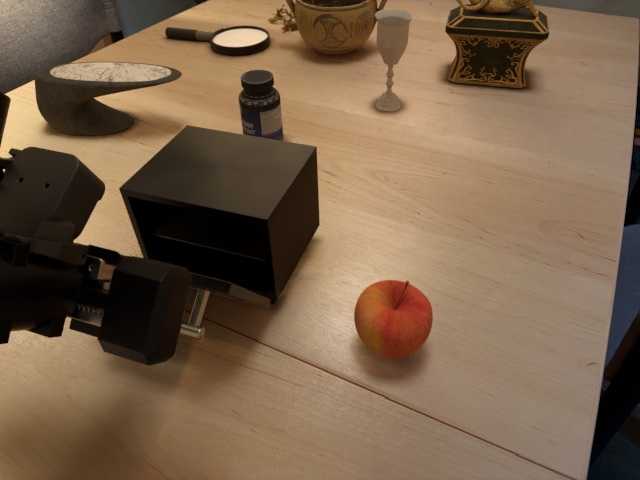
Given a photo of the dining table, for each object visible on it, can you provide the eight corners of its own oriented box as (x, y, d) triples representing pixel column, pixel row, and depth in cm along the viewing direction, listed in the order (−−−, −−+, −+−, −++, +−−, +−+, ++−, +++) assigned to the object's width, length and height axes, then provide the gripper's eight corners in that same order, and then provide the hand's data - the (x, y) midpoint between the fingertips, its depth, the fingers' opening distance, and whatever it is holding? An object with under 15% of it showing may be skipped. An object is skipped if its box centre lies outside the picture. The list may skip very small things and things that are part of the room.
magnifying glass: (182, 27, 121) (180, 17, 120) (278, 36, 115) (278, 26, 114) (153, 47, 113) (151, 37, 111) (255, 59, 107) (254, 48, 105)
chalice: (411, 110, 89) (420, 18, 79) (380, 116, 87) (385, 24, 77) (395, 94, 93) (401, 6, 83) (365, 100, 92) (368, 11, 82)
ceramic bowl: (275, 63, 104) (267, -18, 95) (290, 32, 117) (285, -42, 107) (387, 67, 102) (392, -16, 92) (391, 34, 114) (395, -42, 104)
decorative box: (533, 69, 99) (562, -47, 86) (534, 92, 92) (566, -31, 79) (426, 61, 103) (438, -51, 90) (420, 82, 96) (432, -36, 83)
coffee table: (38, 134, 86) (14, 79, 80) (64, 108, 93) (44, 56, 86) (183, 141, 83) (170, 85, 77) (200, 115, 90) (190, 61, 83)
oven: (279, 314, 56) (267, 219, 47) (150, 280, 60) (118, 188, 52) (320, 237, 65) (316, 146, 56) (206, 212, 69) (186, 124, 61)
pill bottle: (238, 141, 83) (227, 74, 75) (271, 129, 85) (264, 63, 78) (256, 158, 79) (248, 89, 72) (291, 145, 81) (286, 77, 74)
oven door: (256, 351, 53) (213, 346, 43) (129, 314, 57) (62, 302, 47) (271, 299, 54) (232, 282, 44) (145, 266, 58) (82, 244, 48)
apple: (338, 345, 53) (337, 290, 47) (385, 305, 56) (390, 250, 51) (395, 389, 49) (402, 335, 43) (442, 343, 52) (453, 288, 47)
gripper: (134, 167, 26) (254, 209, 41) (-133, 114, 31) (61, 169, 46) (83, 388, 26) (223, 350, 41) (-178, 299, 31) (32, 294, 46)
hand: (130, 283), depth 43 cm, fingers closed
